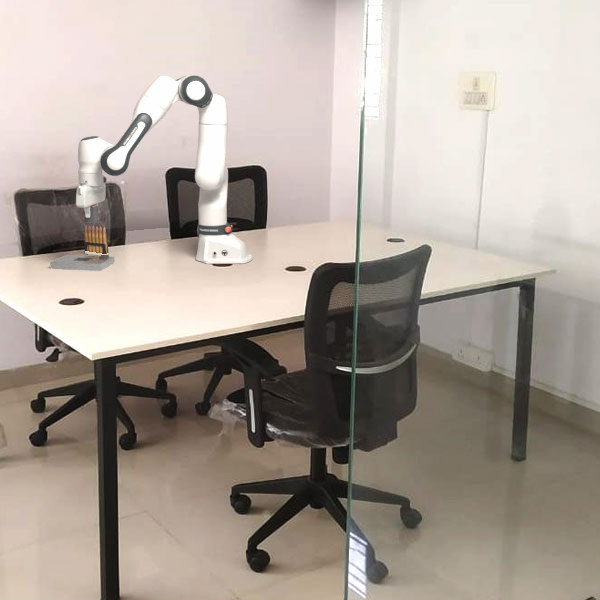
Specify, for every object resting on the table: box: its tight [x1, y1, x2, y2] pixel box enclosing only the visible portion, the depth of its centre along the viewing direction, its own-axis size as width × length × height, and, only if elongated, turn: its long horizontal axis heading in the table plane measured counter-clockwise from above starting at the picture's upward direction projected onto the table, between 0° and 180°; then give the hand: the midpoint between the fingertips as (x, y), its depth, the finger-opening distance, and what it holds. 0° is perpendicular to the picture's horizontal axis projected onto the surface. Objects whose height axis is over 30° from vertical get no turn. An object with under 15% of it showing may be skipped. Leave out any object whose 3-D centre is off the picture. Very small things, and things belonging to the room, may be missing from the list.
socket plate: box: [49, 254, 115, 272], centre depth 347 cm, size 20×14×3 cm
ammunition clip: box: [83, 224, 110, 254], centre depth 367 cm, size 11×2×12 cm, turn 66°
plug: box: [83, 205, 99, 224], centre depth 345 cm, size 4×4×6 cm
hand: (91, 216), depth 345 cm, fingers closed on plug, 4 cm apart
